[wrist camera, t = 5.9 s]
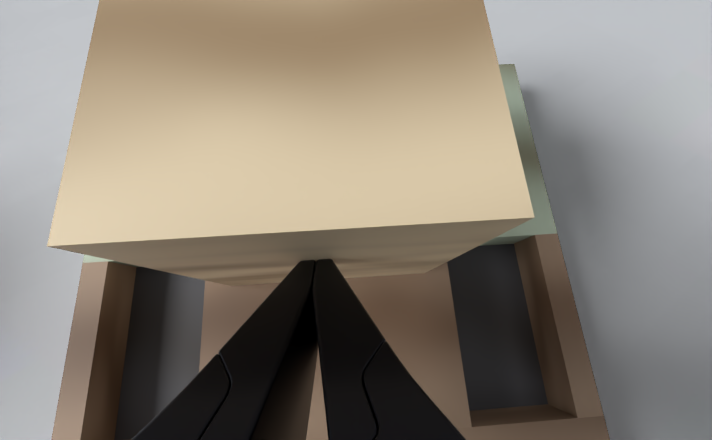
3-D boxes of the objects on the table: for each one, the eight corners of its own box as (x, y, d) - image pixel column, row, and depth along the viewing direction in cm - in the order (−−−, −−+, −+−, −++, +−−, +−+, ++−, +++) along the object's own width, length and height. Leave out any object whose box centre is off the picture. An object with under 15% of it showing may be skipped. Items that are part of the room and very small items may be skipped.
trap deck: (624, 648, 11) (680, 717, 9) (52, 714, 11) (-13, 804, 9) (496, 90, 18) (513, 63, 16) (141, 105, 17) (115, 80, 15)
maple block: (425, 272, 13) (534, 217, 5) (230, 285, 13) (47, 246, 5) (403, 107, 15) (459, -99, 8) (237, 115, 15) (119, -94, 7)
